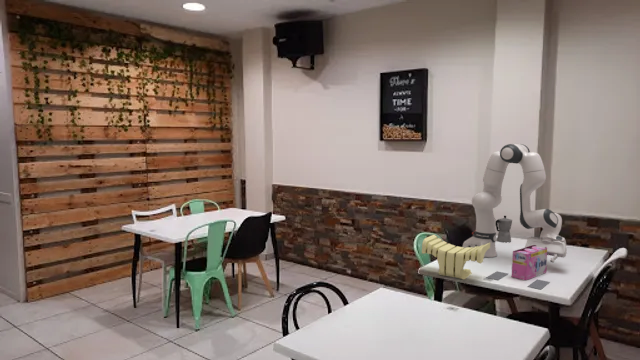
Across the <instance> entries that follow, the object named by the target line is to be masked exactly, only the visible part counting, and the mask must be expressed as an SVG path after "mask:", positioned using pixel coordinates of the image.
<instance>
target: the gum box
mask: <svg viewBox="0 0 640 360" xmlns="http://www.w3.org/2000/svg"><path fill="white" fill-rule="evenodd" d="M547 264H548V255H547V247H545V248H542V247H537V246H536V245H531V246H528V247H525V246H524V247H522V248H519V249H515V250H513V251H512V263H511V278H515V279H518V280H519V279H520V280H523V281H527V280H531V279H532V278H535V277H538V276H540V275H543V274H546V273H547V267H548V265H547Z"/></svg>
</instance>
